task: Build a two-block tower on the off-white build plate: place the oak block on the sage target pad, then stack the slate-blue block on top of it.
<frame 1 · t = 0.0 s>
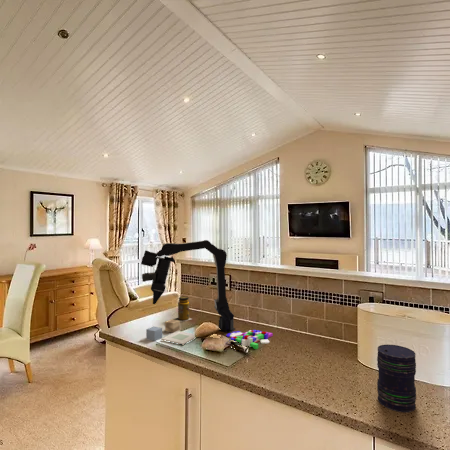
hand: (154, 301, 150), 15 cm above the worktop, tool pointing down, fingers open, 9 cm apart
slate block: (154, 338, 145), on the worktop
build plate: (180, 339, 144), on the worktop
condiment: (182, 319, 174), on the worktop
building block set: (246, 341, 143), on the worktop
oak block: (172, 330, 156), on the worktop
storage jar: (396, 403, 92), on the worktop
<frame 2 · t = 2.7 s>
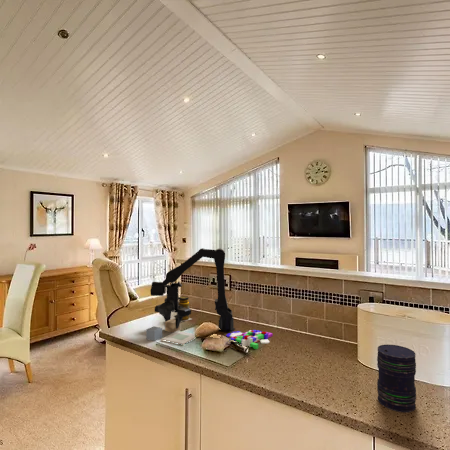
hand: (172, 327, 156), 1 cm above the worktop, tool pointing down, fingers closed on oak block, 5 cm apart
oak block: (172, 330, 156), on the worktop, touching gripper
everything else where it was.
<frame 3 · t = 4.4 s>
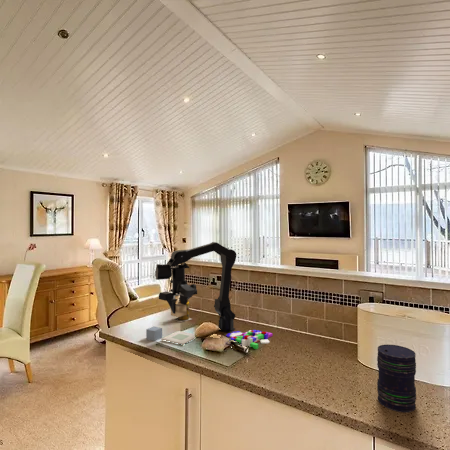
hand: (178, 312, 146), 11 cm above the worktop, tool pointing down, fingers closed on oak block, 5 cm apart
oak block: (178, 314, 146), point 10 cm above the worktop, touching gripper
everything else where it was.
when the fingers open (3 cm above the worktop, at t = 6.5 s): oak block stays where it is, resting on build plate.
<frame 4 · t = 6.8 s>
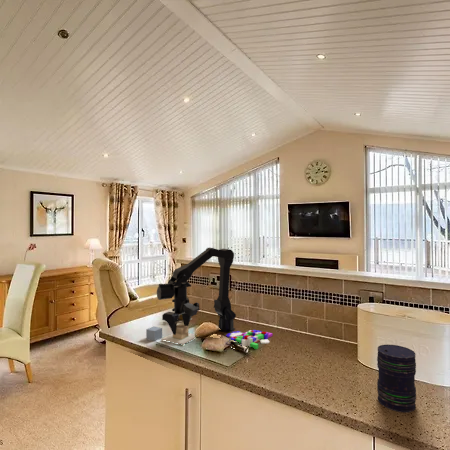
hand: (180, 331, 144), 3 cm above the worktop, tool pointing down, fingers open, 8 cm apart
oak block: (180, 336, 144), point 1 cm above the worktop, touching build plate
everything else where it was.
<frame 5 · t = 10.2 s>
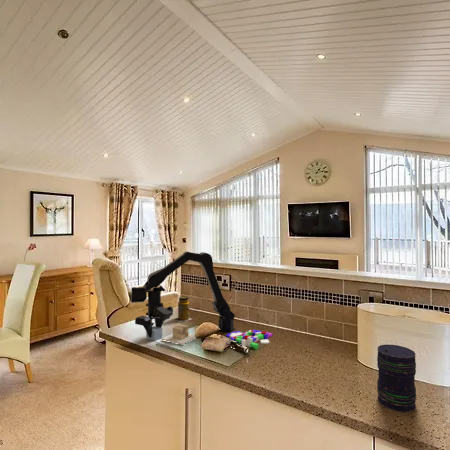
hand: (154, 335, 145), 1 cm above the worktop, tool pointing down, fingers closed on slate block, 5 cm apart
slate block: (154, 338, 145), on the worktop, touching gripper
everything else where it was.
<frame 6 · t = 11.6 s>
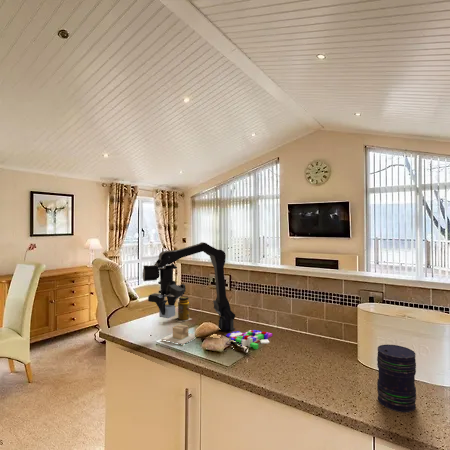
hand: (167, 313, 145), 11 cm above the worktop, tool pointing down, fingers closed on slate block, 5 cm apart
slate block: (167, 316, 145), point 10 cm above the worktop, touching gripper
everything else where it was.
when the fingers open (8 cm above the worktop, at t = 13.3 s): slate block drops 1 cm, resting on oak block.
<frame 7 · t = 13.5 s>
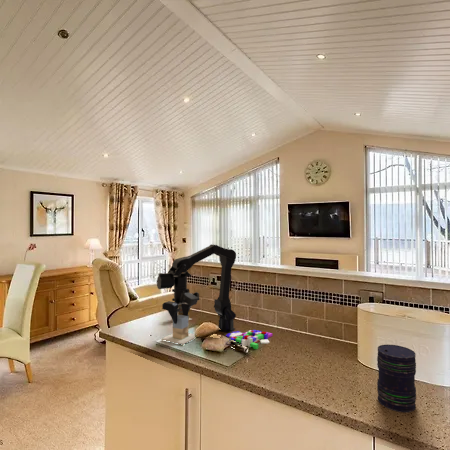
hand: (180, 321, 144), 8 cm above the worktop, tool pointing down, fingers open, 7 cm apart
slate block: (180, 326, 144), point 6 cm above the worktop, touching oak block
oak block: (180, 336, 144), point 1 cm above the worktop, touching build plate, slate block
everything else where it was.
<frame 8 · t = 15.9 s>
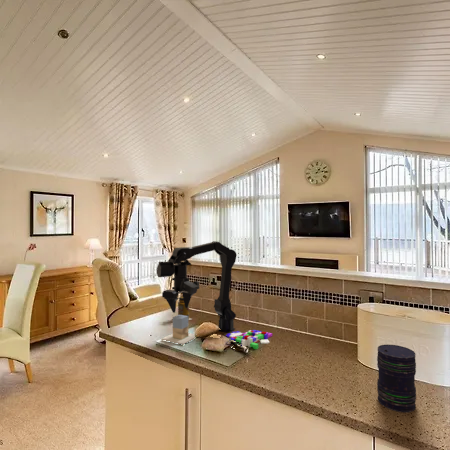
hand: (180, 310, 144), 13 cm above the worktop, tool pointing down, fingers open, 9 cm apart
nothing on the worktop moved.
at the end: oak block 0.0 cm off-centre on the build plate, point 1.0 cm above the build plate's base; slate block 0.0 cm from the oak block (horizontally); slate block point 5.5 cm above the worktop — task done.
